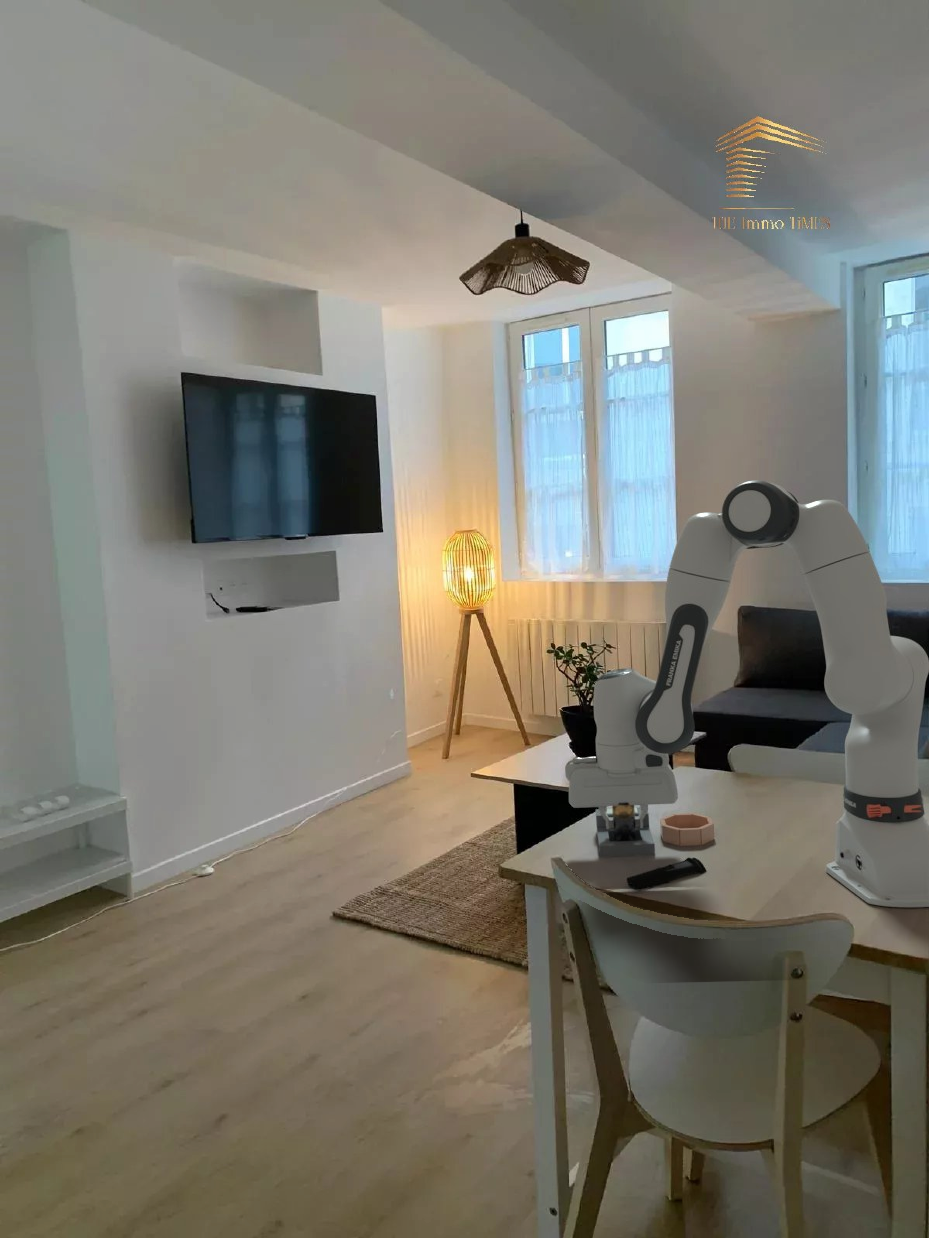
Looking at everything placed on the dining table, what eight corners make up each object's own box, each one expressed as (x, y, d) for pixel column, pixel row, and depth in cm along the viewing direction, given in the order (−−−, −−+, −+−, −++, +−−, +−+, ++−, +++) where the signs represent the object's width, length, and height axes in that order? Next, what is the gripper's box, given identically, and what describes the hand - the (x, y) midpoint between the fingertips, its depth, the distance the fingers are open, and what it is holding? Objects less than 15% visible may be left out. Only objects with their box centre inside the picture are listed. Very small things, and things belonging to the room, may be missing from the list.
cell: (637, 849, 175) (634, 798, 174) (615, 850, 175) (612, 799, 174) (635, 841, 179) (632, 791, 178) (613, 842, 179) (610, 792, 178)
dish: (717, 846, 175) (716, 828, 174) (664, 848, 176) (663, 830, 175) (708, 829, 184) (708, 812, 184) (659, 831, 185) (658, 814, 185)
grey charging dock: (655, 857, 172) (653, 829, 171) (600, 859, 173) (598, 831, 172) (647, 831, 185) (646, 806, 185) (597, 833, 187) (595, 808, 186)
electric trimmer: (622, 891, 159) (621, 873, 158) (694, 869, 165) (693, 851, 165) (635, 898, 155) (634, 880, 155) (708, 875, 162) (707, 858, 162)
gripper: (564, 762, 173) (569, 835, 175) (677, 757, 171) (680, 830, 172) (564, 754, 180) (568, 824, 181) (672, 748, 177) (676, 819, 179)
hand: (624, 827), depth 177 cm, fingers closed on cell, 4 cm apart
